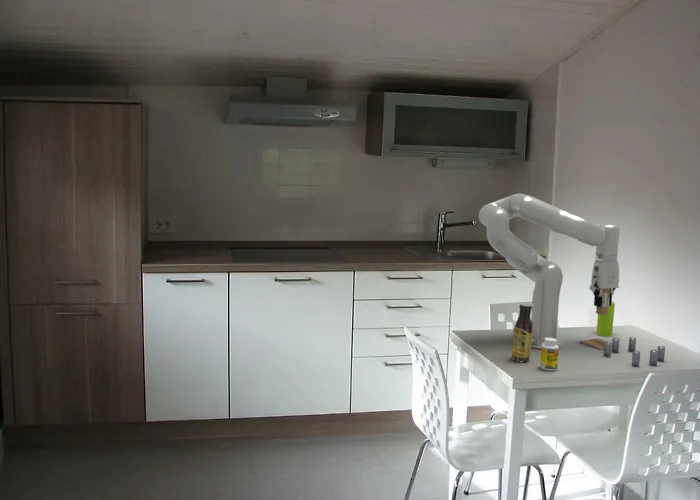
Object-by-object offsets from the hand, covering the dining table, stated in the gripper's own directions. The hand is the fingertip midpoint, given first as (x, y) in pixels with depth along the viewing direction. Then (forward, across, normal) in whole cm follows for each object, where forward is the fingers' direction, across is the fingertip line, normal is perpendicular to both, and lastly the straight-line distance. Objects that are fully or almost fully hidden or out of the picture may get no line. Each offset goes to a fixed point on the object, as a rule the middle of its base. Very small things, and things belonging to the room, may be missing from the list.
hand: (602, 305), depth 260 cm
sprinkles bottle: (+4, 0, 0) cm, 4 cm away
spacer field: (+15, -2, -17) cm, 23 cm away
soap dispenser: (+16, +14, +9) cm, 23 cm away
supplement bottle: (+15, -38, -12) cm, 43 cm away
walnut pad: (+15, 0, 0) cm, 15 cm away
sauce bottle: (+15, -40, -1) cm, 43 cm away
